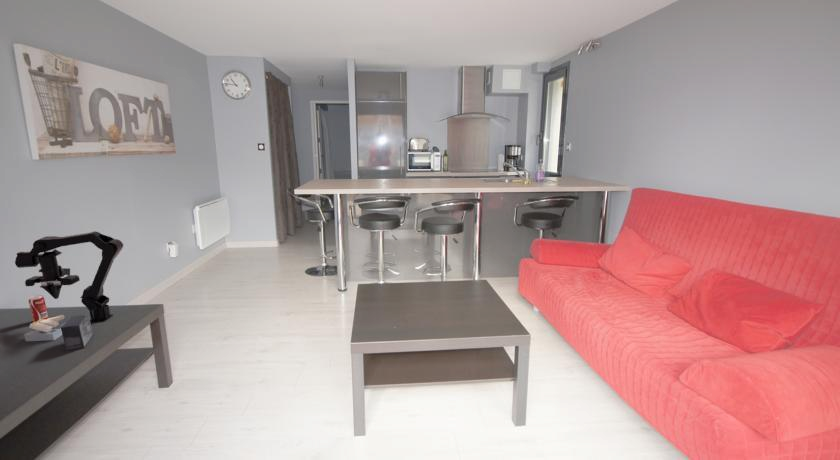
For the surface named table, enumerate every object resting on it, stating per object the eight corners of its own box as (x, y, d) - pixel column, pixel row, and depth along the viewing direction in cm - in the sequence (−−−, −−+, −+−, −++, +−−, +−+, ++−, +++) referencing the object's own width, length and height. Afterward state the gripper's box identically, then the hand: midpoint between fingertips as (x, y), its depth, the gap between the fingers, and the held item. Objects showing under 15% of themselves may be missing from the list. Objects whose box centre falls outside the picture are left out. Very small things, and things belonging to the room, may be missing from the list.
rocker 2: (58, 325, 176) (58, 321, 176) (54, 327, 174) (54, 324, 173) (40, 322, 175) (41, 318, 175) (36, 324, 173) (36, 321, 172)
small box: (75, 338, 172) (70, 315, 169) (94, 336, 174) (89, 313, 172) (64, 351, 162) (59, 327, 160) (84, 348, 165) (79, 324, 162)
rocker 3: (64, 317, 179) (63, 314, 179) (60, 320, 177) (58, 316, 176) (49, 322, 179) (47, 318, 178) (44, 324, 176) (42, 321, 176)
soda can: (31, 321, 187) (25, 297, 184) (45, 317, 191) (40, 293, 188) (36, 324, 184) (30, 299, 181) (51, 319, 189) (45, 295, 186)
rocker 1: (51, 329, 173) (52, 326, 172) (47, 332, 170) (48, 329, 170) (34, 324, 171) (34, 321, 171) (29, 327, 169) (30, 323, 169)
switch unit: (73, 327, 181) (71, 319, 180) (54, 340, 171) (52, 331, 170) (46, 328, 180) (44, 320, 179) (25, 341, 170) (23, 332, 169)
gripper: (84, 259, 188) (91, 290, 191) (41, 260, 186) (48, 292, 190) (66, 267, 177) (74, 300, 181) (20, 268, 175) (28, 302, 179)
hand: (56, 298), depth 183 cm, fingers closed
